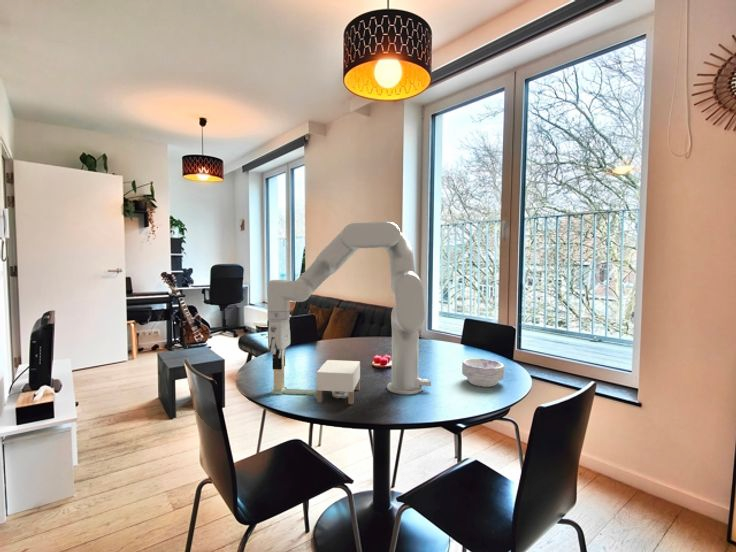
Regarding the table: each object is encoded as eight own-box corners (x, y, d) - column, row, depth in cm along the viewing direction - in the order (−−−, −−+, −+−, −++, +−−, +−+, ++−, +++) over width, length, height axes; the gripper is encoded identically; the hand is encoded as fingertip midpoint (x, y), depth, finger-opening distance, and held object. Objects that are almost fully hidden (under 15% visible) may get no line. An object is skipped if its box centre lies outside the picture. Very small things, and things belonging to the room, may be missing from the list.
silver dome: (350, 393, 135) (350, 387, 135) (347, 399, 129) (347, 393, 129) (334, 392, 136) (334, 387, 136) (330, 398, 130) (330, 392, 130)
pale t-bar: (269, 395, 132) (269, 351, 131) (277, 388, 139) (276, 347, 138) (318, 397, 130) (318, 353, 129) (323, 390, 137) (323, 348, 136)
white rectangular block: (359, 388, 139) (360, 361, 139) (353, 404, 124) (353, 373, 124) (327, 387, 141) (327, 359, 140) (316, 402, 126) (316, 371, 125)
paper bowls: (504, 379, 151) (504, 359, 151) (503, 392, 137) (504, 370, 136) (464, 375, 156) (464, 355, 156) (459, 387, 142) (460, 365, 142)
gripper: (280, 319, 126) (281, 375, 127) (296, 312, 142) (296, 362, 142) (258, 318, 127) (259, 374, 127) (276, 312, 143) (276, 361, 143)
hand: (278, 367), depth 135 cm, fingers closed on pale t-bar
